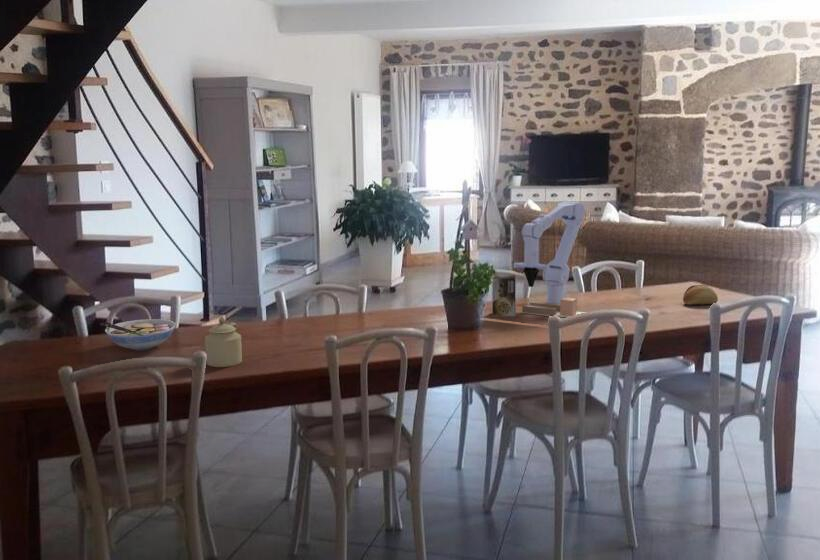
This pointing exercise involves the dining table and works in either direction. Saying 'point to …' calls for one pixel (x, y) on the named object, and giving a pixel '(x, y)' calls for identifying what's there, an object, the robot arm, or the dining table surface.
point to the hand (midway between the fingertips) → (531, 286)
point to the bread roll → (699, 295)
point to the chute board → (544, 309)
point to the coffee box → (503, 295)
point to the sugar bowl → (223, 345)
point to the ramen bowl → (140, 333)
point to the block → (568, 306)
